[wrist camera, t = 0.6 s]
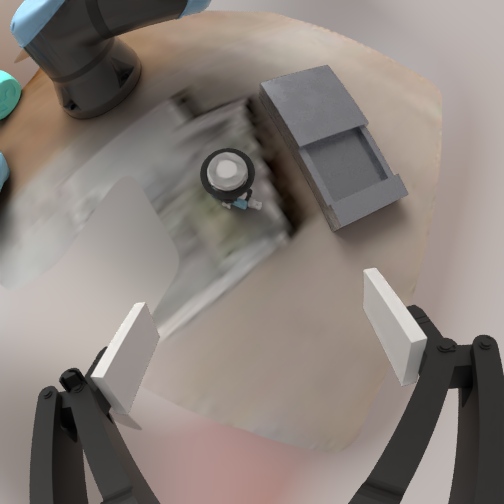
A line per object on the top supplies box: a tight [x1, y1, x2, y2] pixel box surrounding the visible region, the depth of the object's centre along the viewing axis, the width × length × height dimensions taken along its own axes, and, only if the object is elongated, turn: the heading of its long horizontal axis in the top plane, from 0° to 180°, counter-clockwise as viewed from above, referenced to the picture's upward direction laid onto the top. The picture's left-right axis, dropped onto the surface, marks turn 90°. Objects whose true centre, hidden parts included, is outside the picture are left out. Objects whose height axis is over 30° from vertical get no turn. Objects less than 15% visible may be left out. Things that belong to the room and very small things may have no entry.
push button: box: [200, 148, 262, 210], centre depth 32 cm, size 7×5×10 cm
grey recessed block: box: [259, 65, 408, 232], centre depth 36 cm, size 22×11×4 cm, turn 25°
